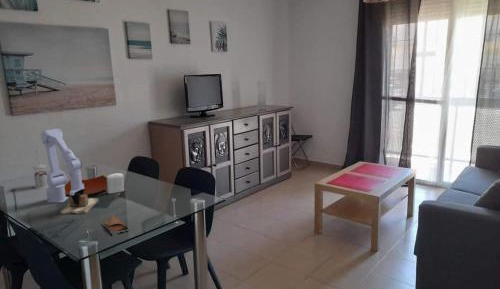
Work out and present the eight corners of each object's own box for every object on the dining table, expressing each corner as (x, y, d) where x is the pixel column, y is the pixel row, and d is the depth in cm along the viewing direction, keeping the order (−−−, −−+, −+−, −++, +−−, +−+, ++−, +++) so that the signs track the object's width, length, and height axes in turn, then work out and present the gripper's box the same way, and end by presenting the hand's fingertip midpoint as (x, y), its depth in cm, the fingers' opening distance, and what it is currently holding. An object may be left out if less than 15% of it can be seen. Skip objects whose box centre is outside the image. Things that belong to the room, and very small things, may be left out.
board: (60, 213, 212) (60, 211, 212) (75, 200, 231) (74, 198, 230) (85, 213, 212) (85, 210, 212) (98, 200, 231) (98, 198, 230)
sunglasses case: (99, 223, 199) (105, 211, 200) (111, 226, 204) (117, 215, 205) (111, 236, 186) (117, 223, 186) (124, 239, 190) (130, 226, 191)
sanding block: (69, 206, 217) (68, 196, 216) (72, 204, 221) (71, 194, 220) (85, 206, 217) (84, 196, 216) (88, 204, 221) (87, 194, 220)
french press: (39, 189, 249) (34, 153, 243) (29, 186, 255) (24, 150, 249) (53, 185, 257) (48, 149, 251) (43, 182, 263) (38, 147, 257)
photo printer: (123, 189, 250) (121, 171, 247) (125, 191, 247) (123, 173, 244) (107, 192, 245) (105, 174, 242) (108, 194, 241) (107, 175, 238)
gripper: (77, 184, 209) (80, 207, 212) (88, 176, 223) (90, 198, 226) (64, 184, 209) (67, 207, 212) (76, 176, 223) (78, 198, 226)
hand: (78, 202), depth 219 cm, fingers closed on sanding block, 4 cm apart
